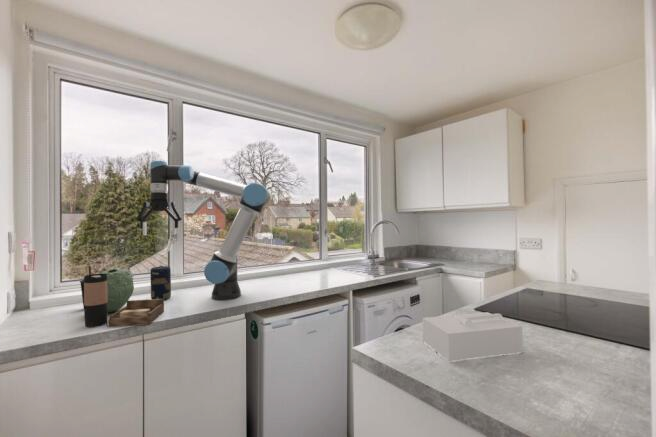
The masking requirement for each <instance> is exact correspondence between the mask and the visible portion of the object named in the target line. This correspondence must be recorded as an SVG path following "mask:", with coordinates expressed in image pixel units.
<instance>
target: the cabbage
mask: <svg viewBox="0 0 656 437" xmlns="http://www.w3.org/2000/svg"><path fill="white" fill-rule="evenodd" d="M99 274H107V293H108V309H107V314H109V313H116V312H117V311H119V310H121V309H122V308H124V307H125V305H127V301H130V298H131V297H132V295H133V294H134V289H135V286H134V279H135V278H134V277H135V276H134V275H131V272H130V271H129V270H127V269H122V268H120V267H118V266H117V267H113V268H111V269H108V270H102V271H101V272H100V273H99Z"/></svg>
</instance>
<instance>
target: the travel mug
mask: <svg viewBox="0 0 656 437" xmlns="http://www.w3.org/2000/svg"><path fill="white" fill-rule="evenodd" d="M83 279H84V307H83V310H84V311H83V312H84V326H85V328H97V327H100V326H104V325H106V324H108V313H107V309H108V293H107V274H100V273H93V274H92V273H91V275H89V274H87V275H84V277H83Z"/></svg>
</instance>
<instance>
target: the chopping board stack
mask: <svg viewBox="0 0 656 437" xmlns="http://www.w3.org/2000/svg"><path fill="white" fill-rule="evenodd" d="M149 312H150V309H137V310H124V311H122V312H120V318H127V317H142V316H148V313H149Z"/></svg>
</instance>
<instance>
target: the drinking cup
mask: <svg viewBox="0 0 656 437" xmlns="http://www.w3.org/2000/svg"><path fill="white" fill-rule="evenodd" d="M91 270H92V268H91V266H88V275H92V272H91ZM79 283H80V290H81V297H82V299H81V300H82V307H83V308H84V278H83V279H81V280H79Z"/></svg>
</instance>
